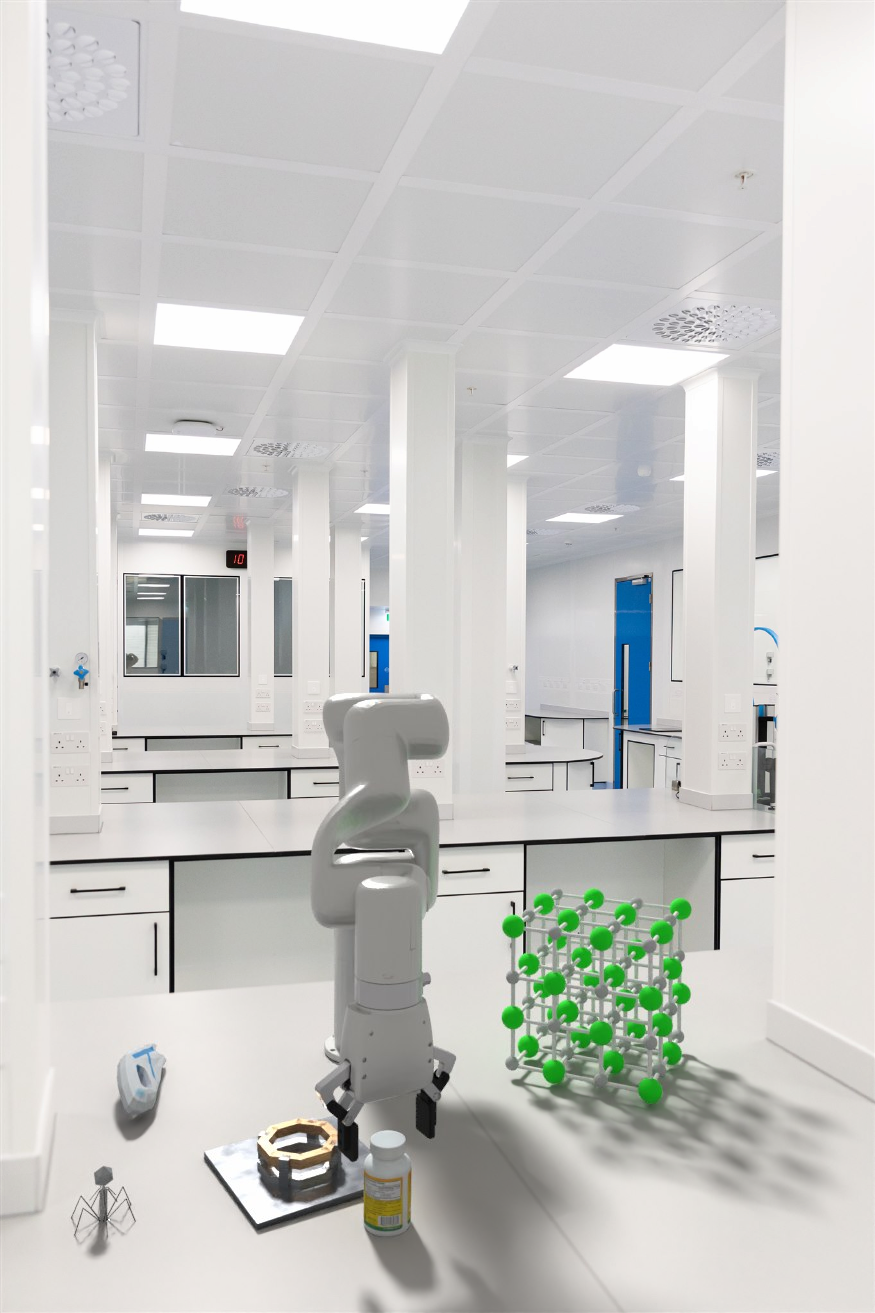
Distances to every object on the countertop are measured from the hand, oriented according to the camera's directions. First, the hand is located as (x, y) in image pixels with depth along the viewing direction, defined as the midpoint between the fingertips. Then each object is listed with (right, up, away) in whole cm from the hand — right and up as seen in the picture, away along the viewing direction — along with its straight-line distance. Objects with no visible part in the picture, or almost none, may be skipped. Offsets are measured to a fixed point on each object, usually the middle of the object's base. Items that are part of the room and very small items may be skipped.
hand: (387, 1144), depth 108 cm
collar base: (-11, -9, +11) cm, 18 cm away
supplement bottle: (0, -9, +1) cm, 9 cm away
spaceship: (-33, -10, +31) cm, 46 cm away
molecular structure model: (+31, -9, +44) cm, 55 cm away
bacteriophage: (-32, -10, +1) cm, 33 cm away
